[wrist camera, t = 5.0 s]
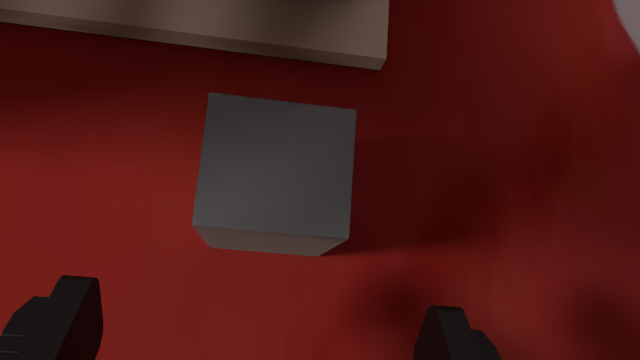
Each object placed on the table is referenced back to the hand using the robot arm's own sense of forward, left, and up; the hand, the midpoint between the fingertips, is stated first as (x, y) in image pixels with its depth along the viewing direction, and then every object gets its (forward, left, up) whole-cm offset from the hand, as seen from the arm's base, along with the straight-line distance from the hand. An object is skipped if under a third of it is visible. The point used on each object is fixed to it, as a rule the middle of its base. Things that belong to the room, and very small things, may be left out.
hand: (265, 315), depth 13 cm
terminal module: (0, +4, -9) cm, 10 cm away
